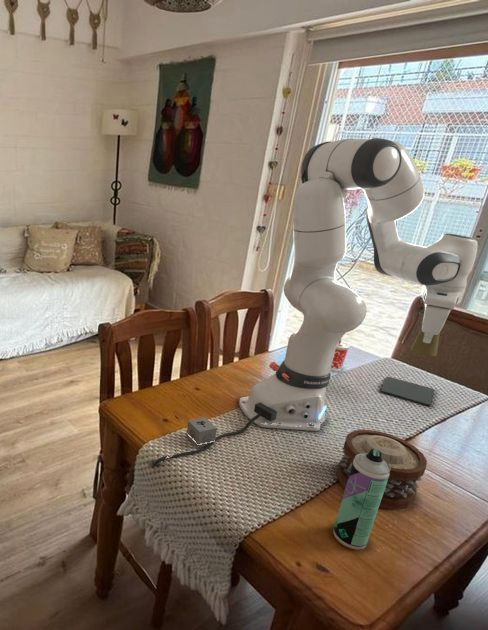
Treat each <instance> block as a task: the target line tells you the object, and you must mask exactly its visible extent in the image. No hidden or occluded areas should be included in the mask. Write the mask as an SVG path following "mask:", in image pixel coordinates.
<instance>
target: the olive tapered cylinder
mask: <svg viewBox="0 0 488 630" xmlns="http://www.w3.org/2000/svg"><path fill="white" fill-rule="evenodd" d="M423 318H424V316H423V317H422V318H421V320H420V324H421V325H422V324H423ZM445 326H446V322H445V323H444V325H443V327H442V329H443V328H444V327H445ZM420 327H421V328H420V329H419V331H418V334H417V335H416V337H415V339H414V341H413V344H411V347H410V351H411V352H412V353H414V354H417V355H420V356H424V357H430V358H431V357H432V358H433V357H436V356H437V355H438V347H439V342H440V335H441V332H440V333H439V334H438V335H433V337H432V340H431V343H424V342H423V338H424V334H425V333H424V332H422V326H420Z"/></svg>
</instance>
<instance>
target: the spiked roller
mask: <svg viewBox="0 0 488 630" xmlns="http://www.w3.org/2000/svg"><path fill="white" fill-rule="evenodd" d="M344 440H345V441H344V444H343V447H341V449H342V450H341V451H342V453H343V454H342V455H341V456H342V457H341V458H340V461H339V463H338V466H337V469H336V477H337V480H338V482H339V483H340V484H341V486H342V487H343V488H344V489H345V488H346V485H347V481H348V478H349V474H350V471H351V467H352V464H353V460H354V459H355V456H356V455H358V454H362V453H364V454H366V453H369V452H370V450H371V449H376V450H378V451H380V452H381V454H382V455H381V457H382V459H383V460H384V461H385V462H387V463H388V465H389V466H390V475H389V478H388V481H387V484H386V487H385V490H384V493H383V496H382V499H381V502H380V505H379V508H382V509H390V510H401V509H407V508H409V507H411V506H412V505H413V504H414V501H415V500H416V496H417V491H418V489H419V488H420V486H419V485H418V483H417V482H418V481H422V482H423V478H421V477H423V476H424V474H425V472H426V469H427V466H428V465H427V464H428V463H427V462H428V460H427V458H426V457H425V455H424V453H423V452H422V451H421V450H419V449H418V448H417V447H416V446H415V445H413V444H411V443H410V442H408V441H406V440H405V439H403V438H400V437H398V436H396V435H393V434H390V433H387V432H382V431H379V430H373V429H372V430H371V429H357V430H353V431H351V432H349V433H348V434H347V435H346V437H345V439H344Z"/></svg>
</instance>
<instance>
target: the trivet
mask: <svg viewBox="0 0 488 630" xmlns="http://www.w3.org/2000/svg"><path fill="white" fill-rule="evenodd" d="M434 391H435V389H434V388H432V387H429V386H425V385H422V384H417V383H414V382H409V381H406V380H402V379H400V378H395V377H392V376H386V377H385V380H384V382H383V385H382V388H381V389H380V393H381V394H385V395H389V396H392V397H396V398H400V399H402V400H406V401H410V402H413V403H416V404H420V405H424V406H426V407H431V404H432V400H433V395H434Z"/></svg>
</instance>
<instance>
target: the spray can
mask: <svg viewBox="0 0 488 630" xmlns="http://www.w3.org/2000/svg"><path fill="white" fill-rule="evenodd" d="M381 455H382V454H381V452H380V451H378V450H376V449H371V450H370V452H369V453H366V454H364V453H362V454H358V455H356V456H355V459H354V460H353V464H352V467H351V471H350V474H349V478H348V481H347V485H346V488H344V492H343V496H342V499H341V502H340V506H339V509H338V513H337V516H336V519H335V523H334V526H333V531H332V533H333V535H334V538H335V539H336V540H337V541H338V542H339V543H340V544H341V545H343V546H344V547H347V548H349V549H352V550H356V551H359V550H363V549H365V548H366V547H367V544H368V542H369V539H370V536H371V532H372V529H373V526H374V524H375V523H374V522H375V520H376V517H377V514H378V511H379V508H380V507H379V505H380V502H381V499H382V496H383V493H384V490H385V487H386V484H387V481H388V478H389V475H390V466H389V465H388V463H387V462H385V461H384V460H383V459H382V457H381Z"/></svg>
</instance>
